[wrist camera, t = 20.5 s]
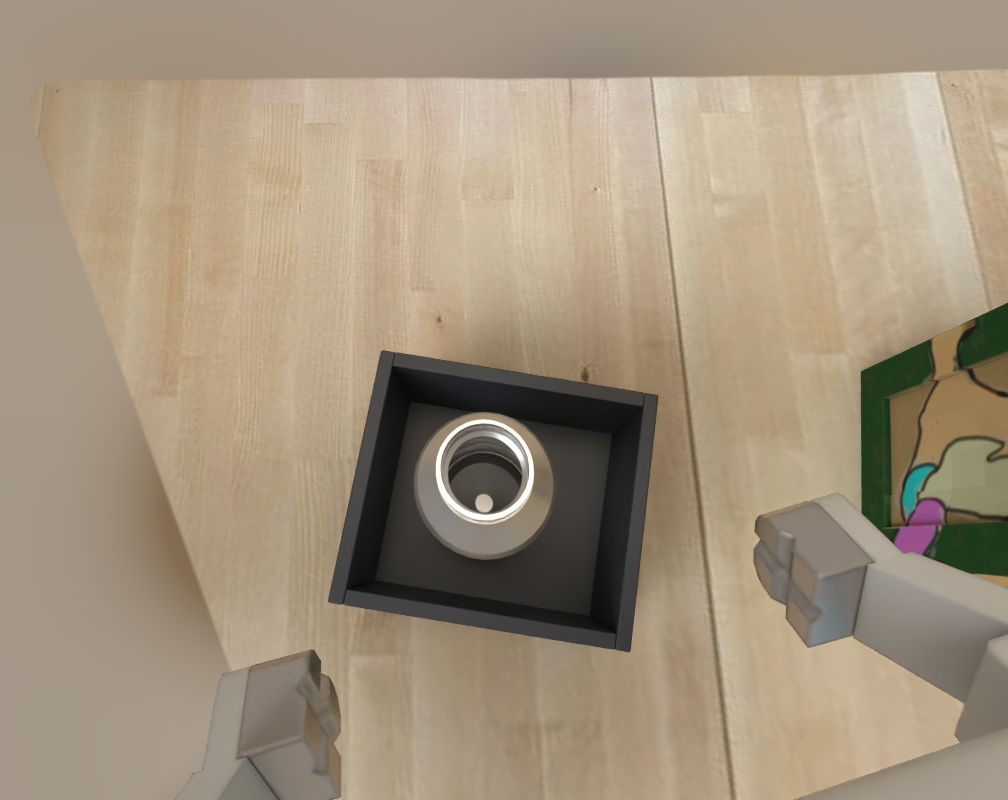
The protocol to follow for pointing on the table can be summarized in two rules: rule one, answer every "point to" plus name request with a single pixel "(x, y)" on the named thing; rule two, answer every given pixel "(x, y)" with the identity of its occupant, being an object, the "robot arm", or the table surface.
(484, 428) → the silver bottle
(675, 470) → the table surface
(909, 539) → the container
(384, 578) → the waste bin
